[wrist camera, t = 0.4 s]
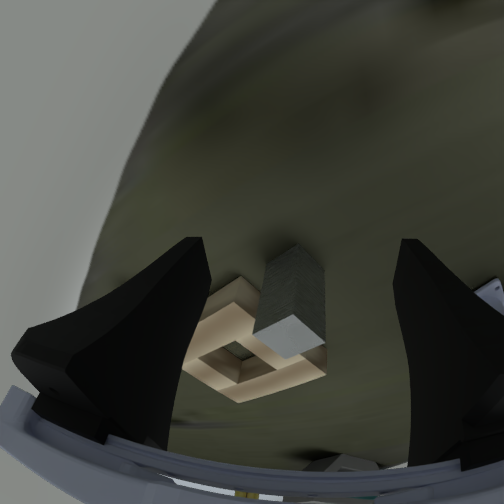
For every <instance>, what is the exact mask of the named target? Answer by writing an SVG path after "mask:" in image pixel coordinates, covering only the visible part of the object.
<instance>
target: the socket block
mask: <svg viewBox="0 0 504 504" xmlns="http://www.w3.org/2000/svg"><path fill="white" fill-rule="evenodd" d="M260 294H261V293H260V292H259V291H258V290H257V289H256V288H255V287H254V286H252V285H251V284H250V283H249V282H248V281H247V280H246V279H244V278H243V277H242V276H240V277H238V278H237V279H235V280H234V281H232V282H231V283H229V284H228V285H226V286H225V287H223V288H222V289H220V290H219V291H217V292H216V293H214V294H213V295H211V296H210V297H208V298H207V301H206V304H205V307H204V310H203V312H202V315H201V317H200V320H199V322H198V325H197V327H196V330H195V332H194V335H193V337H192V340H191V342H190V345H189V347H188V350H187V353H186V356H185V359H184V362H183V366H182V369H183V370H185V371H186V372H188V373H189V374H191V375H192V376H194V377H196V378H197V379H199V380H200V381H202V382H204V383H205V384H207V385H209V386H210V387H212V388H213V389H215V390H217V391H218V392H220V393H222V394H224V395H225V396H227V397H229V398H230V399H232V400H234V401H236V402H237V403H241V402H244V401H248V400H251V399H255V398H258V397H262V396H265V395H268V394H272V393H275V392H278V391H281V390H284V389H287V388H290V387H293V386H296V385H299V384H302V383H305V382H308V381H311V380H313V379H316V378H319V377H322V376H324V375H327V349H326V348H325V347H323V346H322V345H319V346H317V347H314V348H312V349H310V350H307V351H305V352H303V353H300V354H298V355H296V356H293V357H291V358H288V359H286V360H285V359H284V358H283V357H281V356H280V355H279V354H277V353H276V352H274V351H273V350H272V349H270V348H269V347H268V346H266V345H265V344H264V343H262V342H261V341H260V340H258V339H257V338H256V337H254V336H253V335H252V333H253V328H254V323H255V318H256V313H257V308H258V303H259V299H260ZM235 340H236V341H237V342H238V343H240V344H241V345H242V346H244V347H245V348H247V349H248V350H249V351H251V352H252V353H254V354H255V355H256V356H254V357H251V358H249V359H246V360H244V361H242V360H240V359H239V358H237V357H236V356H234V355H233V354H232V353H230V352H229V351H227V350H226V349H224V348H223V347H222V346H224V345H226V344H228V343H231V342H233V341H235Z"/></svg>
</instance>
